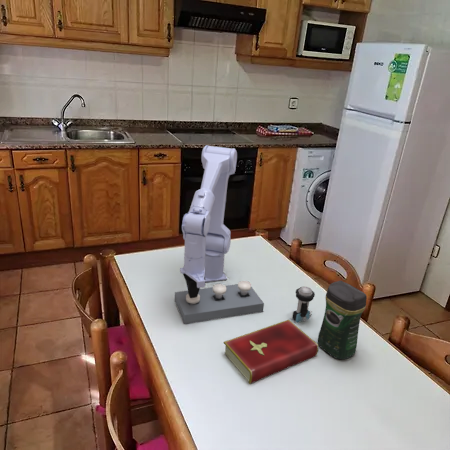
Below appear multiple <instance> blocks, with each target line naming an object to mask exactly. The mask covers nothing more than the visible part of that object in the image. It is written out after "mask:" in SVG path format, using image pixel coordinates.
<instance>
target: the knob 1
mask: <svg viewBox="0 0 450 450" xmlns="http://www.w3.org/2000/svg"><path fill="white" fill-rule="evenodd" d="M186 301H187V302H188V303H189V305H192V304H196V303H198V302H199V301H200V295H199V294H198V296H197V297H195V298H190V297H189V294H187V295H186Z"/></svg>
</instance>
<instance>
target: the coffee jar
mask: <svg viewBox="0 0 450 450" xmlns="http://www.w3.org/2000/svg"><path fill="white" fill-rule="evenodd" d="M367 297H368V296H367V294H366V293H364V292H363V291H361V290H360V289H359V288H357V287H354V286H353V285H352V284H349V283H347V282H345V281H343V280H338V281H334V282H331V283H330V284H329V286H328V288H327V290H326V293H325V310H324V314H323V319H322V322H321V326H320V329H319V332H318V336H317V344H318V347H320V348H321V349H322V350H323V351H325V352H326V353H327V354H329V356H332V357H333V358H335V359H337V360H347V359H349V358H352V357H353V356H354V355H355V354H356V352H357V347H358V336H359V330H360V329H359V328H360V322H361V318H362V314H363V313H364V311H365V310H366V308H367V299H368V298H367Z"/></svg>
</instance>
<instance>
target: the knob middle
mask: <svg viewBox="0 0 450 450" xmlns="http://www.w3.org/2000/svg"><path fill="white" fill-rule="evenodd" d="M226 286H227V285H224V284H223V283H216V284H214V285H213V286H212V287H213V293H215V294H216V298H218V299H221V298H222V295H223V294H225V293H226Z"/></svg>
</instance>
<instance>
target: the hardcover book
mask: <svg viewBox="0 0 450 450" xmlns="http://www.w3.org/2000/svg"><path fill="white" fill-rule="evenodd" d="M223 344H224V345H225V348H224V355H226V357H227V358H228V359H229V360H230V361H231V363H232V364H233V365H234V366H235V367H236V368H237V369H238V371H239V372H240V373H241V375H243V376H244V377H245V378H246V380H247V381H248V385H251V384H253V383H255V382H258V381H260V380H263V379H264V378H267V377H270V376H272V375H274V374H277V373H279V372H282V371H284V370H286V369H288V368H291V367H293V366H296V365H298V364H300V363H302V362H305V361H307V360H310V359H312V358H314V357H317V355H318V353H319V344H318V342H316V341H315V340H313V338H311V337H310V336H309V335H308V334H307V333H305V332H304V331H303V330H302V329H300V328H299V327H298V326H297V325H296V324H294V323H293V321H291V320H290V319H287V320H284V321H280V322H277V323H275V324H272V325H269V326H266V327H262V328H260V329H257V330H254V331H252V332H248V333H245V334H242V335H240V336H237V337H234V338H232V339H228V340H225V341H223Z"/></svg>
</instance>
